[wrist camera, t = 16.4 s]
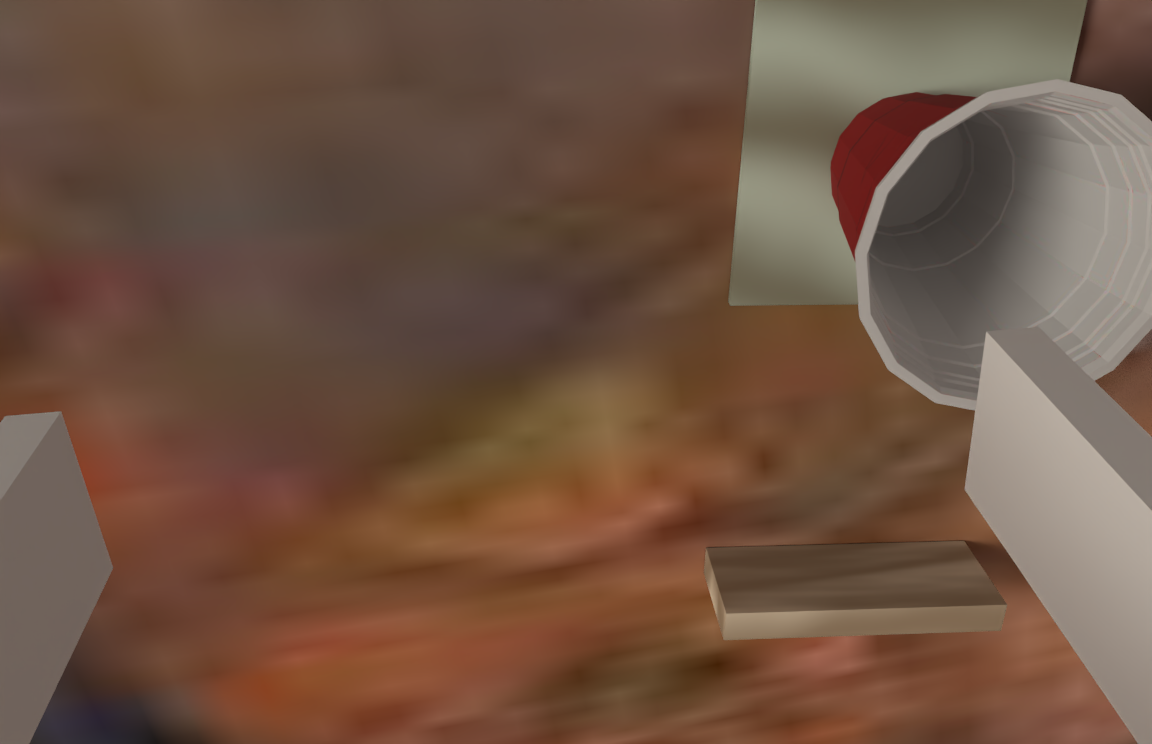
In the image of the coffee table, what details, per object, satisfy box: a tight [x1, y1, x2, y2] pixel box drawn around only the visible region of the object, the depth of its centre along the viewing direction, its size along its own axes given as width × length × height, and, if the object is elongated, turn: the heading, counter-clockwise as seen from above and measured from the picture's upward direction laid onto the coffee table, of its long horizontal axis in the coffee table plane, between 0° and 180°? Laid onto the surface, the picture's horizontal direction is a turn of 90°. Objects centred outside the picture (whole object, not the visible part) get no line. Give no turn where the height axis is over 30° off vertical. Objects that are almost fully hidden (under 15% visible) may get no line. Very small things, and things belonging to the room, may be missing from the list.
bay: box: [704, 0, 1087, 640], centre depth 45 cm, size 30×13×5 cm, turn 179°
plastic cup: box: [830, 79, 1152, 410], centre depth 39 cm, size 11×11×12 cm
